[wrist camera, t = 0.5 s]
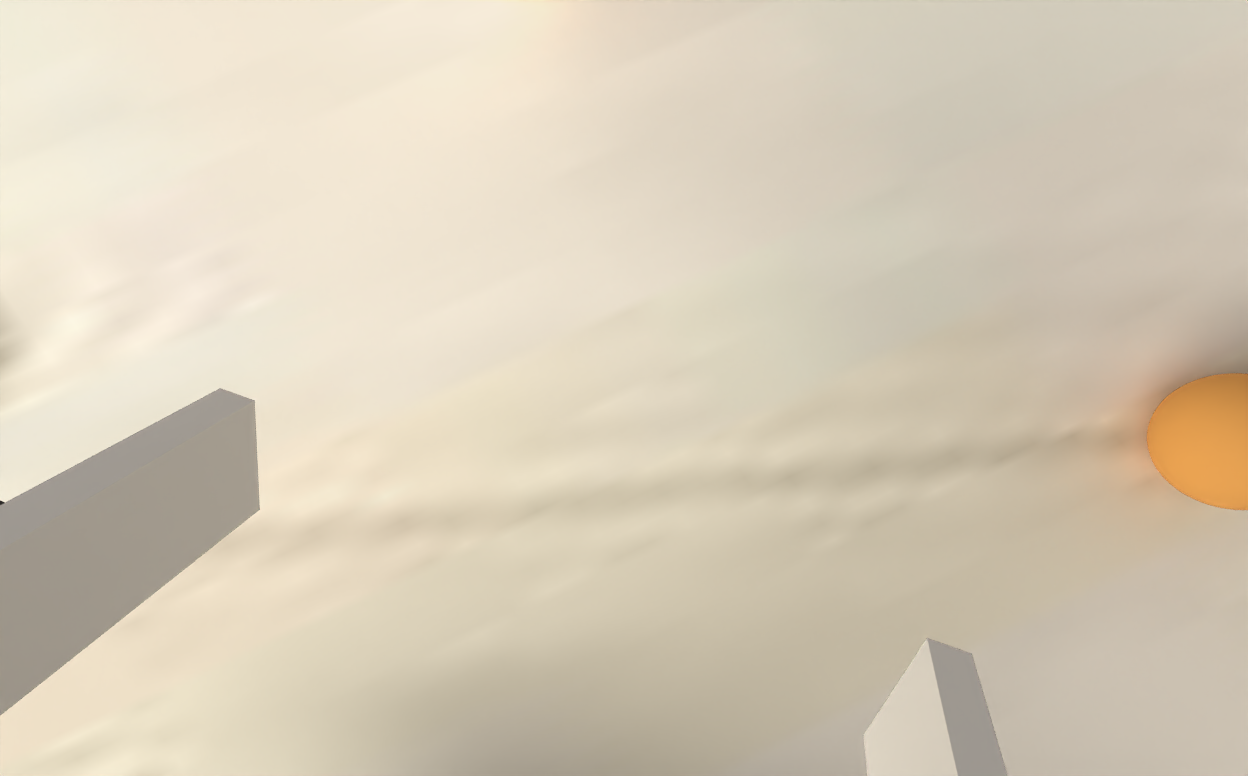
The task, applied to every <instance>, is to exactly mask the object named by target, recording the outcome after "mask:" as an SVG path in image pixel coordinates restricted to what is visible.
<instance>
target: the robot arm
mask: <svg viewBox="0 0 1248 776" xmlns="http://www.w3.org/2000/svg"><path fill="white" fill-rule="evenodd" d="M258 510H260V506H259V485H258V464H257V442H256V421H255V401H254V400H252V399H249V398H246V397H243V396H240V395H237V394H235V393H232V392H229V391H226V390H223V389H218V390H216V391H214V392H212V393H210V394H209V395H207V396H205V397H203V398H201V399H199V400H197V401H195V402H193V403H192V404H190V405H188V406H186V407H184V408H182V409H180V410H178V411H177V412H175V413H173V414H171V415H169V416H167V417H165V418H163V419H162V420H160V421H158V422H156V423H154V424H152V425H150V426H148V427H146V428H145V429H143V430H141V431H139V432H137V433H135V434H133V435H131V436H130V437H128V438H126V439H124V440H122V441H120V442H118V443H116V444H115V445H113V446H111V447H109V448H107V449H105V450H103V451H101V452H100V453H98V454H96V455H94V456H92V457H90V458H88V459H86V460H84V461H83V462H81V463H79V464H77V465H75V466H73V467H71V468H69V469H68V470H66V471H64V472H62V473H60V474H58V475H56V476H54V477H53V478H51V479H49V480H47V481H45V482H43V483H41V484H39V485H37V486H36V487H34V488H32V489H30V490H28V491H26V492H24V493H22V494H21V495H19V496H17V497H15V498H13V499H11V500H9V501H7V502H6V503H5V502H2V501H0V715H2V714H3V713H4V712H5V711H7V710H8V709H9V708H10V707H12V706H13V705H14V704H15V703H17V702H18V701H19V700H20V699H22V698H23V697H24V696H25V695H27V694H28V693H29V692H30V691H32V690H33V689H34V688H36V687H37V686H38V685H39V684H41V683H42V682H43V681H44V680H46V679H47V678H48V677H49V676H51V675H52V674H53V673H54V672H56V671H57V670H58V669H59V668H61V667H62V666H63V665H64V664H66V663H67V662H68V661H70V660H71V659H72V658H73V657H75V656H76V655H77V654H78V653H80V652H81V651H82V650H83V649H85V648H86V647H87V646H88V645H90V644H91V643H92V642H93V641H95V640H96V639H97V638H98V637H100V636H101V635H102V634H104V633H105V632H106V631H107V630H109V629H110V628H111V627H112V626H114V625H115V624H116V623H117V622H119V621H120V620H121V619H122V618H124V617H125V616H126V615H127V614H129V613H130V612H131V611H132V610H134V609H135V608H136V607H137V606H139V605H140V604H141V603H143V602H144V601H145V600H146V599H148V598H149V597H150V596H151V595H153V594H154V593H155V592H156V591H158V590H159V589H160V588H161V587H163V586H164V585H165V584H166V583H168V582H169V581H170V580H171V579H173V578H174V577H175V576H177V575H178V574H179V573H180V572H182V571H183V570H184V569H185V568H187V567H188V566H189V565H190V564H192V563H193V562H194V561H195V560H197V559H198V558H199V557H200V556H202V555H203V554H204V553H205V552H207V551H208V550H209V549H211V548H212V547H213V546H214V545H216V544H217V543H218V542H219V541H221V540H222V539H223V538H224V537H226V536H227V535H228V534H229V533H231V532H232V531H233V530H234V529H236V528H237V527H238V526H239V525H241V524H242V523H243V522H244V521H246V520H247V519H248V518H250V517H251V516H252V515H253V514H255V513H256V512H257V511H258ZM863 736H864V747H865V758H866V768H867V776H1008V775H1007V772H1006V768H1005V765H1004V762H1003V758H1002V755H1001V751H1000V748H999V745H998V741H997V738H996V734H995V731H994V728H993V724H992V721H991V718H990V714H989V711H988V707H987V704H986V701H985V697H984V694H983V691H982V687H981V684H980V680H979V677H978V674H977V670H976V667H975V663H974V660H973V657H972V654H971V653H968V652H965V651H963V650H960V649H957V648H954V647H951V646H948V645H946V644H943V643H940V642H937V641H934V640H931V639H929V638H927V639H926V640H925V642H924V643H923V645H922V646H921V648H920V649H919V651H918V652H917V654H916V655H915V657H914V658H913V660H912V661H911V663H910V665H909V666H908V668H907V669H906V671H905V672H904V674H903V675H902V677H901V678H900V680H899V681H898V683H897V684H896V686H895V687H894V689H893V691H892V692H891V694H890V695H889V697H888V698H887V700H886V701H885V703H884V704H883V706H882V707H881V709H880V710H879V712H878V713H877V715H876V717H875V718H874V720H873V721H872V723H871V724H870V726H869V727H868V729H867V730H866V732H865V733H864V735H863Z"/></svg>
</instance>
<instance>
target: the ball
mask: <svg viewBox="0 0 1248 776" xmlns="http://www.w3.org/2000/svg"><path fill="white" fill-rule="evenodd" d="M1147 444H1148V449H1149V453H1150V456H1151V459H1152V461H1153V463H1154V465H1155V467H1156V468H1157V470H1158V471H1159V472H1160V474H1161V475H1162V476H1163V477H1164V478H1165V479H1166V480H1167V481H1168V482H1169V483H1170V484H1171V485H1172V486H1174V487H1175V488H1176V489H1177V490H1179V491H1180V492H1182V493H1184V494H1185V495H1187V496H1189V497H1191V498H1193V499H1195V500H1197V501H1200V502H1202V503H1205V504H1208V505H1212V506H1215V507H1220V508H1226V509H1233V510H1248V374H1242V373H1230V374H1219V375H1213V376H1208V377H1204V378H1200V379H1197V380H1195V381H1192V382H1190V383H1187V384H1185V385H1183V386H1181V387H1180V388H1178V389H1176V390H1175V391H1174V392H1172V393H1171V394H1170V395H1168V396H1167V397H1166V398H1165V399H1164V400H1163V401H1162V402H1161V403H1160V404H1159V406H1158V407H1157V409H1156V410H1155V412H1154V413H1153V415H1152V417H1151V420H1150V423H1149V426H1148V431H1147Z"/></svg>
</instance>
